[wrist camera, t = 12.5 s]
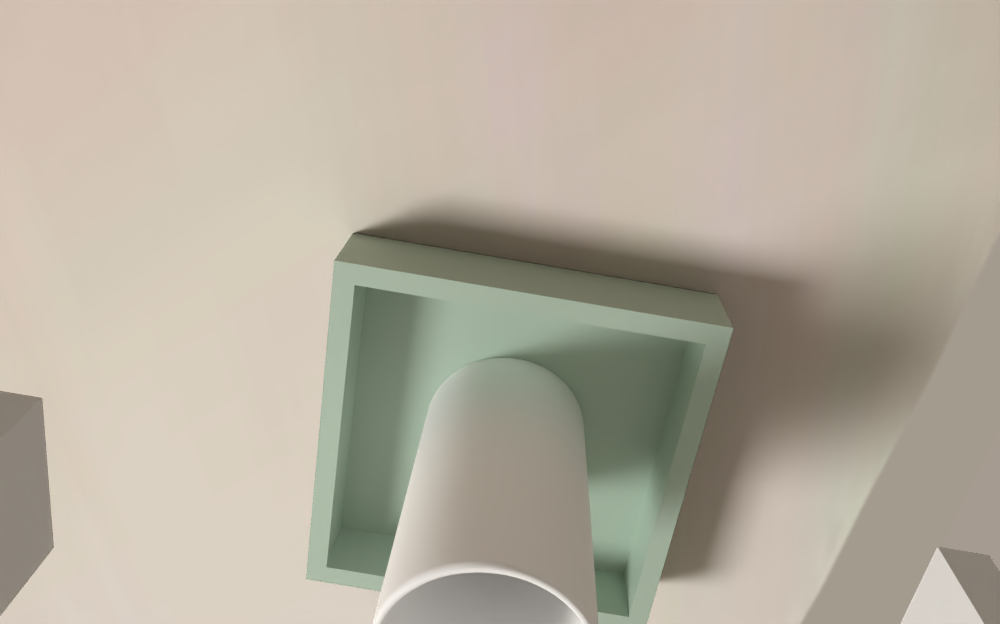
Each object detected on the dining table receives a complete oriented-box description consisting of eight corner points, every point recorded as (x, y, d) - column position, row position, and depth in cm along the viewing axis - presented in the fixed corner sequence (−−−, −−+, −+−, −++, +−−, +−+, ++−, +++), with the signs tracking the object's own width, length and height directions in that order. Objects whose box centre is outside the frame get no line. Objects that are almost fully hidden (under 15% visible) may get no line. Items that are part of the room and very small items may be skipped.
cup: (550, 335, 43) (551, 538, 28) (605, 468, 46) (632, 715, 31) (400, 386, 44) (327, 604, 30) (462, 512, 47) (424, 767, 33)
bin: (353, 232, 42) (334, 260, 38) (717, 294, 42) (733, 328, 39) (324, 531, 49) (306, 579, 45) (636, 583, 49) (643, 634, 46)
